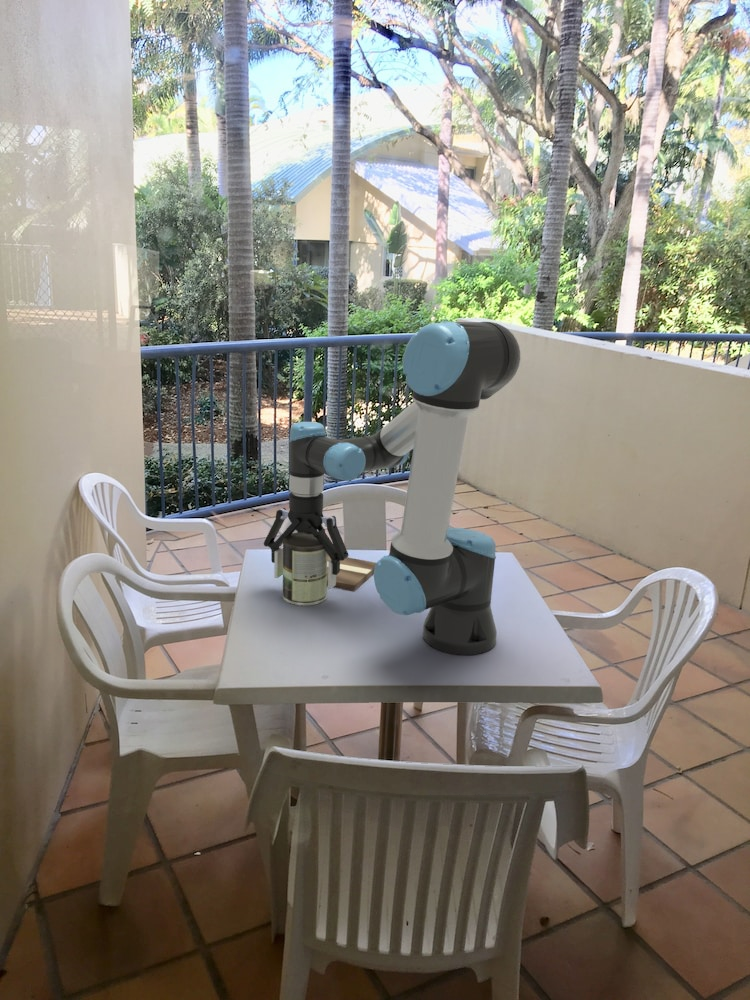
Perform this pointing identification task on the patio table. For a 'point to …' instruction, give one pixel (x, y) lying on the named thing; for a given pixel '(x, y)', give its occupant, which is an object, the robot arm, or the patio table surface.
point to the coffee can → (304, 570)
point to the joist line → (353, 569)
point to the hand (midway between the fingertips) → (304, 581)
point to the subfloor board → (352, 574)
